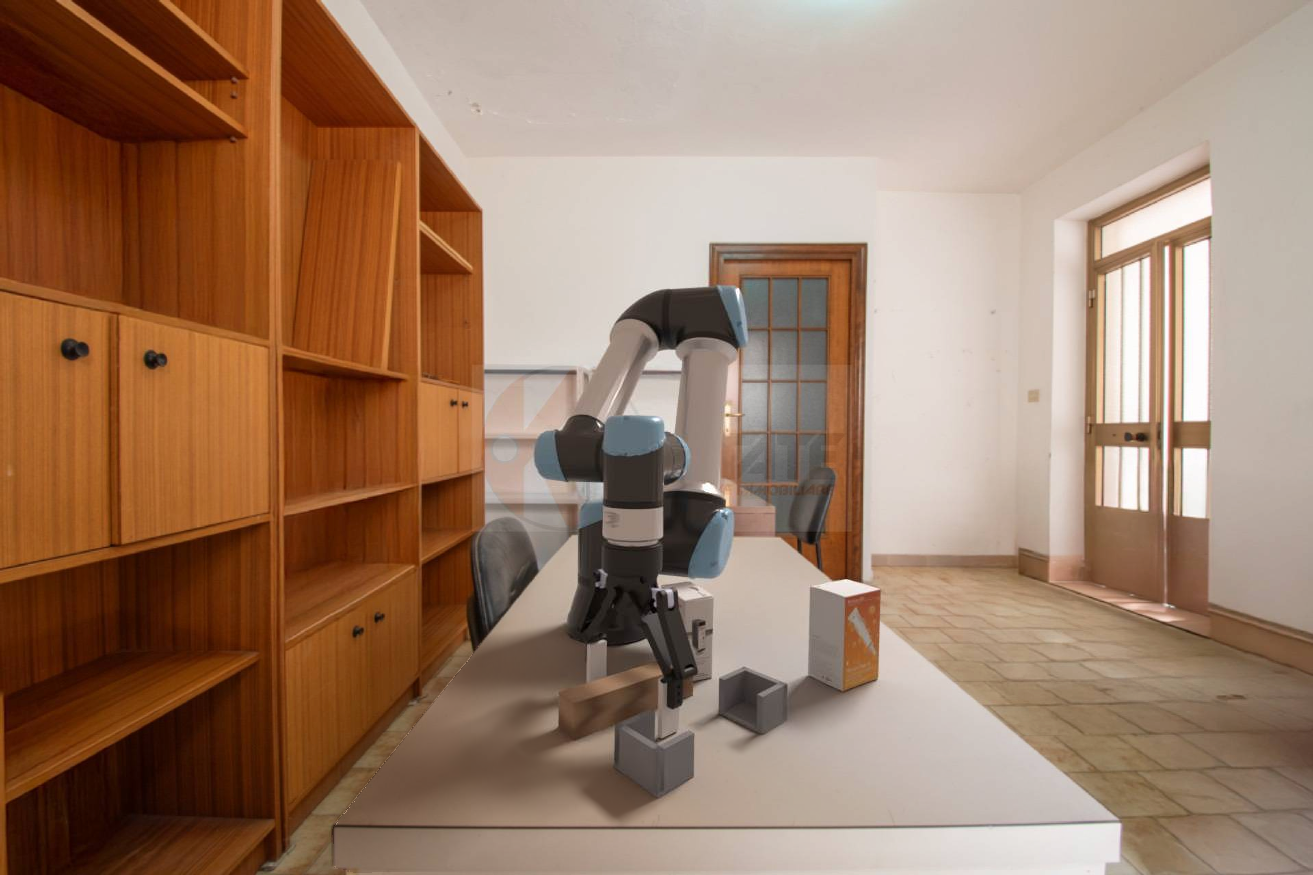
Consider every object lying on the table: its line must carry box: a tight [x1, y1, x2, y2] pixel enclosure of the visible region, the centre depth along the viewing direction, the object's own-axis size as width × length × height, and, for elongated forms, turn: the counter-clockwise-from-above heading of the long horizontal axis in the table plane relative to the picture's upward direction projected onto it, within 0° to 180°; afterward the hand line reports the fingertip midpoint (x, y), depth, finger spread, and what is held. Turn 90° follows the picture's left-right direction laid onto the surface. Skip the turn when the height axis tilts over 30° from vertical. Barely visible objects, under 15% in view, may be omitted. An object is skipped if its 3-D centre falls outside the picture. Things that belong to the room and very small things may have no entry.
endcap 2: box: [718, 666, 788, 736], centre depth 69 cm, size 7×5×4 cm
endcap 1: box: [613, 709, 695, 799], centre depth 57 cm, size 7×5×4 cm
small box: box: [807, 578, 882, 692], centre depth 80 cm, size 8×6×13 cm
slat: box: [557, 661, 694, 742], centre depth 70 cm, size 18×4×4 cm, turn 128°
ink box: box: [660, 581, 715, 682], centre depth 82 cm, size 9×5×12 cm, turn 23°
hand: (629, 711), depth 69 cm, fingers open, 13 cm apart
